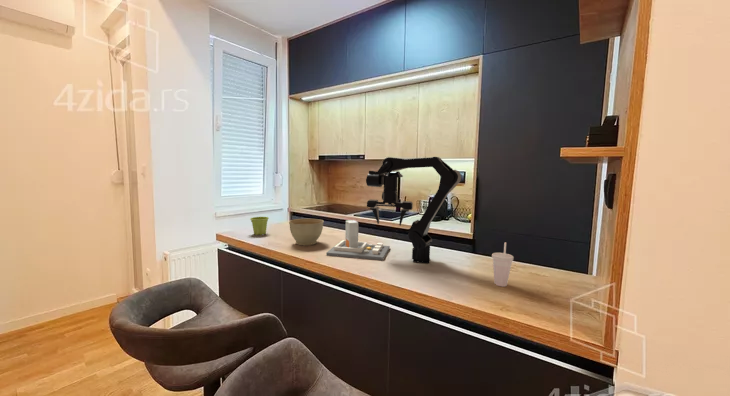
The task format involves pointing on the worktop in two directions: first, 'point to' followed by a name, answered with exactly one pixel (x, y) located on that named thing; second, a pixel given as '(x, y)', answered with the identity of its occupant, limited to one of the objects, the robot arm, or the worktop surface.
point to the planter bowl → (306, 230)
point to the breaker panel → (360, 251)
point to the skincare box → (351, 234)
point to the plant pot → (259, 225)
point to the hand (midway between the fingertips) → (389, 224)
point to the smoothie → (502, 267)
